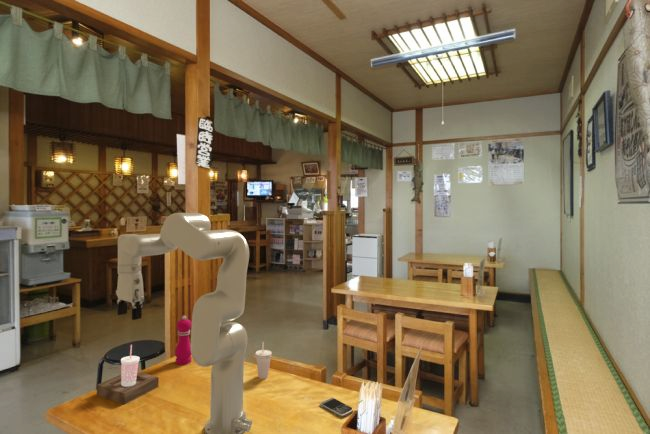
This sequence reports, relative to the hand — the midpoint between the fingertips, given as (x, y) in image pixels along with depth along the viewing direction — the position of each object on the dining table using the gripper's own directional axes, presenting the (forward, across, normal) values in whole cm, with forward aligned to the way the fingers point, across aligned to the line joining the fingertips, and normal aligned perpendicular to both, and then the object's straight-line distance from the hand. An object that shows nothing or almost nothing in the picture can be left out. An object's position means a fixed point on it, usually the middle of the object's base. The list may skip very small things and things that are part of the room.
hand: (129, 316), depth 136 cm
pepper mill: (+27, +7, -27) cm, 39 cm away
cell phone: (+28, -66, -36) cm, 80 cm away
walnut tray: (+28, 0, 0) cm, 28 cm away
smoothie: (+27, -30, -38) cm, 55 cm away
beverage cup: (+25, 0, 0) cm, 25 cm away
